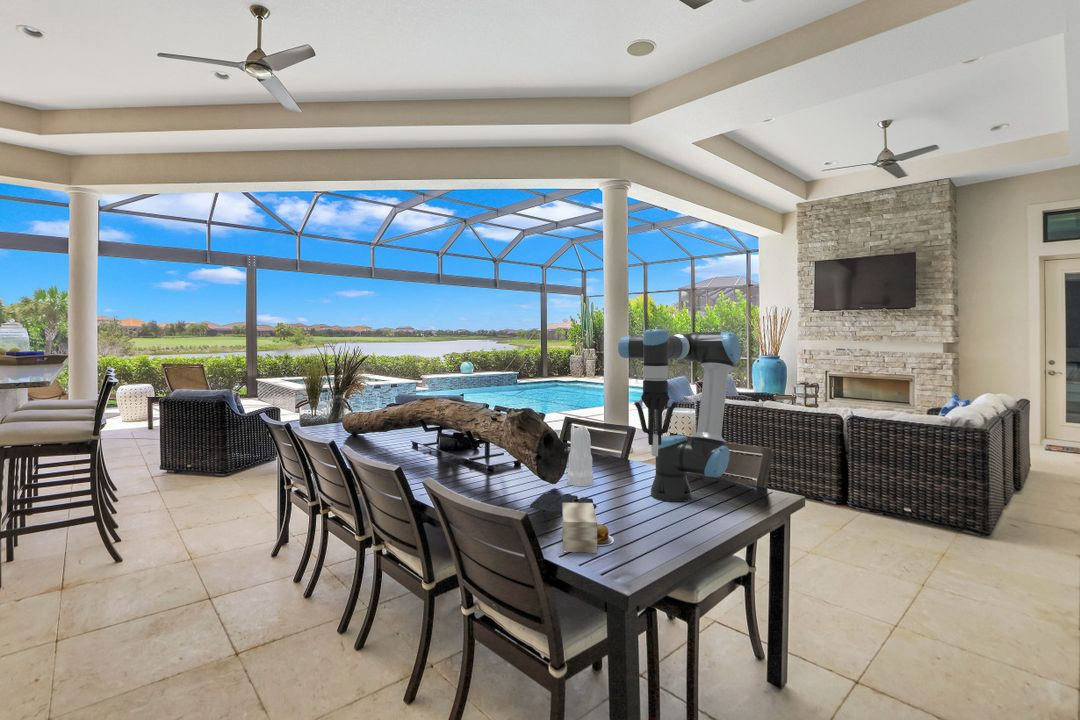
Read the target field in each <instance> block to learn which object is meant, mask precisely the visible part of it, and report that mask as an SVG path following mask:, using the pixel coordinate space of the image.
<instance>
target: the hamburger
mask: <svg viewBox="0 0 1080 720" xmlns="http://www.w3.org/2000/svg"><path fill="white" fill-rule="evenodd" d="M609 532H610V531H609V528H608V526H606V525H604V524H601V523H597V547H605V546H608V545H611V544H613V543H615V539H614V537H613V536H611V535H609ZM609 540H610V541H611V542H610V543H608V544H606V543H607V542H609Z"/></svg>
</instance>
